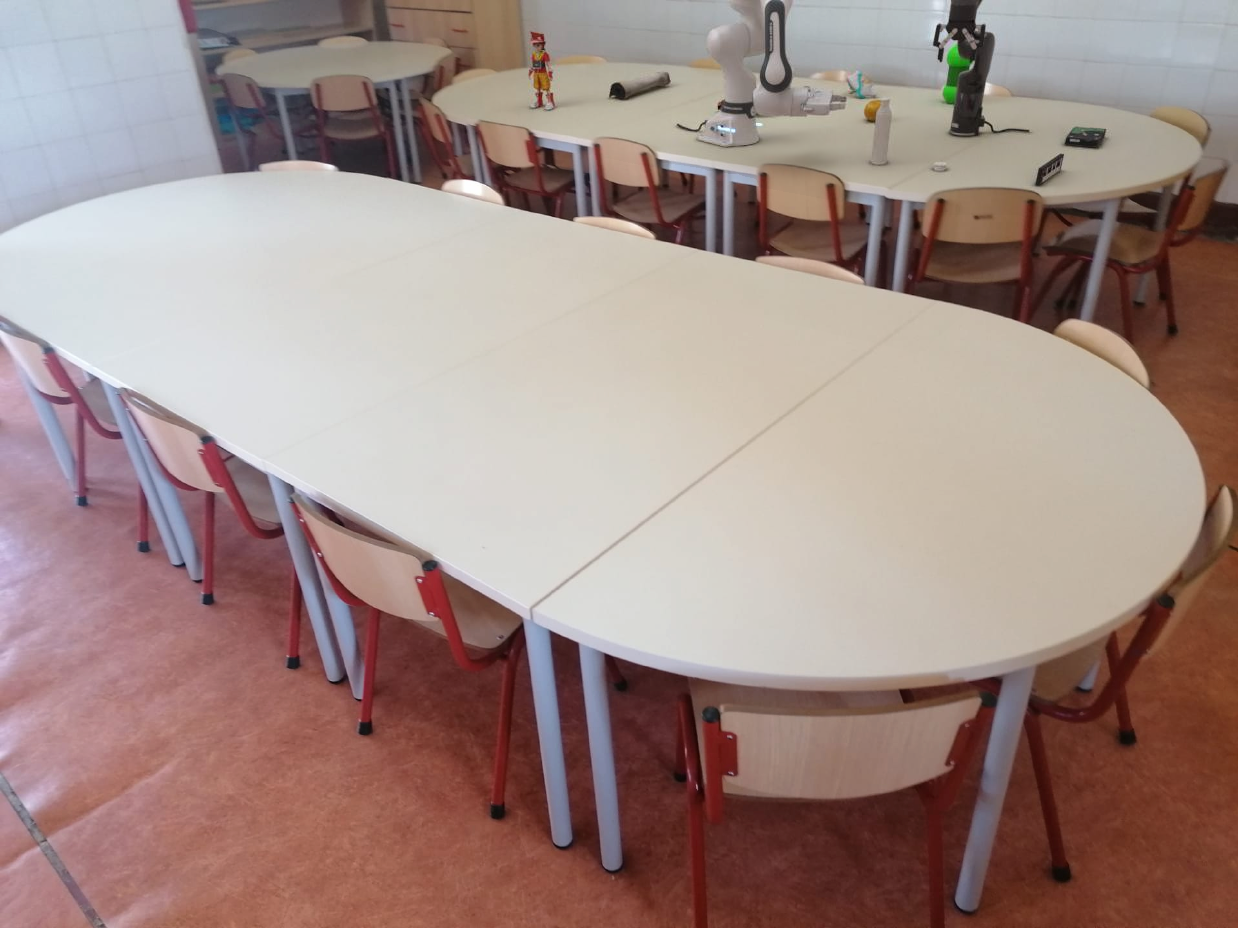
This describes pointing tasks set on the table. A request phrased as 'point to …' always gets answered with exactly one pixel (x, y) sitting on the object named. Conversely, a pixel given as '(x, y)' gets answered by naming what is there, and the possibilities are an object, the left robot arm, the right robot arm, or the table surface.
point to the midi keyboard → (1049, 169)
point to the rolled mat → (638, 84)
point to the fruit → (872, 109)
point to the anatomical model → (860, 85)
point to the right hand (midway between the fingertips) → (955, 62)
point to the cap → (939, 166)
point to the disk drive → (1085, 136)
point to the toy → (541, 71)
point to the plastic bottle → (954, 73)
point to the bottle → (881, 133)
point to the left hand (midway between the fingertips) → (845, 102)
